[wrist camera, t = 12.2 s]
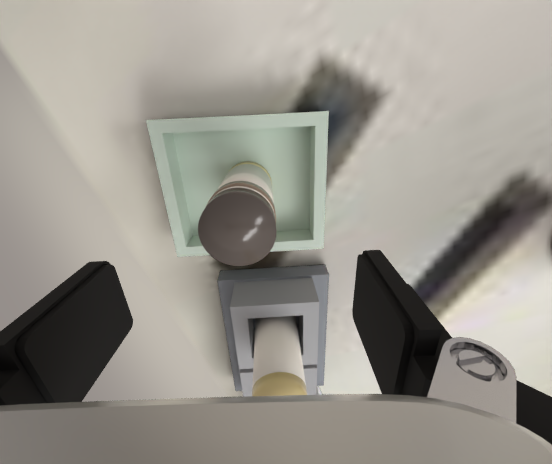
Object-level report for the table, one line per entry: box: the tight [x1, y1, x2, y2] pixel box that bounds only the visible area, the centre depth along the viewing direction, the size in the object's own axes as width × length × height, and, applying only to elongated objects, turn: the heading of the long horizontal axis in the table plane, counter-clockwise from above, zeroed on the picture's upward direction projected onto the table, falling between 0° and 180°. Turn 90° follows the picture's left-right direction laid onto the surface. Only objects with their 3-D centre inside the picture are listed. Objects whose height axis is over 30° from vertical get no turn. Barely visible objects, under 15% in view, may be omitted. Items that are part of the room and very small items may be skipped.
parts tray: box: [146, 111, 329, 257], centre depth 24 cm, size 14×12×4 cm
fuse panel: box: [218, 265, 329, 397], centre depth 31 cm, size 12×18×6 cm, turn 2°
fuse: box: [252, 316, 307, 396], centre depth 25 cm, size 4×4×11 cm
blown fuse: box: [198, 161, 277, 266], centre depth 20 cm, size 4×4×11 cm
